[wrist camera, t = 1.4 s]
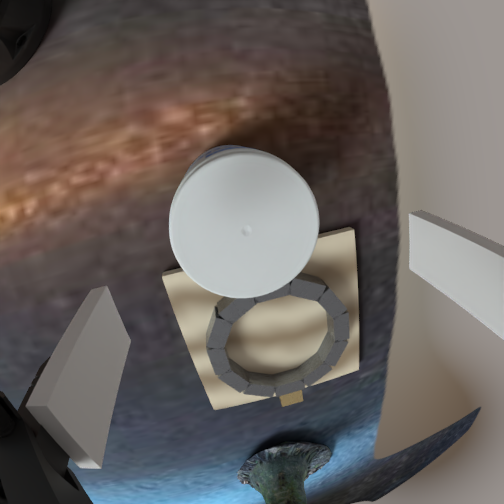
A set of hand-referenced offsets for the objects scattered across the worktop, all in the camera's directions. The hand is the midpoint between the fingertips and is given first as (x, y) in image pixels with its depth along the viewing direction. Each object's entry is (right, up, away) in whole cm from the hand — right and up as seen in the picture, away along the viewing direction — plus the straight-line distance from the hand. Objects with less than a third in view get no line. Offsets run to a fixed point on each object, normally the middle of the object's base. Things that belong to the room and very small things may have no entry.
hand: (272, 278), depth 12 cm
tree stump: (+5, -40, +38) cm, 55 cm away
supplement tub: (-3, +7, +20) cm, 22 cm away
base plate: (+2, -9, +26) cm, 28 cm away
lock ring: (+2, -9, +25) cm, 27 cm away
